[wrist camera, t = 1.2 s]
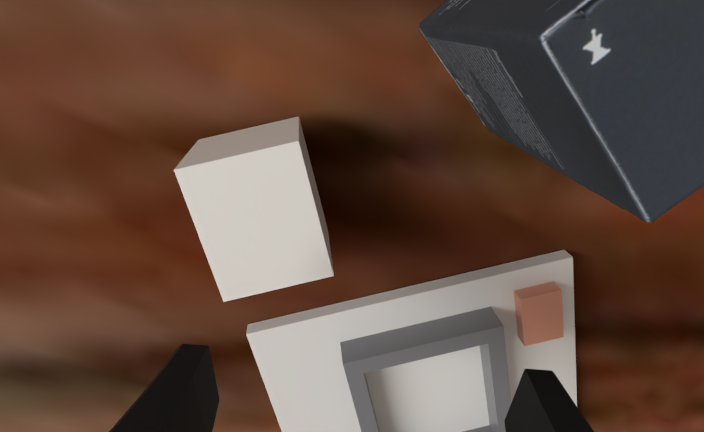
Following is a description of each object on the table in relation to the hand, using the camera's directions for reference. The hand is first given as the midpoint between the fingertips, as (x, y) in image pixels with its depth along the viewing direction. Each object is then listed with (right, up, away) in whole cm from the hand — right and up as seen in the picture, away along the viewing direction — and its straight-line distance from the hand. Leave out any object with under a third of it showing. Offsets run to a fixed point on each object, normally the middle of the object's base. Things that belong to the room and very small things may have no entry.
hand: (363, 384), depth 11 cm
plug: (-4, +6, +10) cm, 12 cm away
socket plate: (+4, -5, +15) cm, 16 cm away
